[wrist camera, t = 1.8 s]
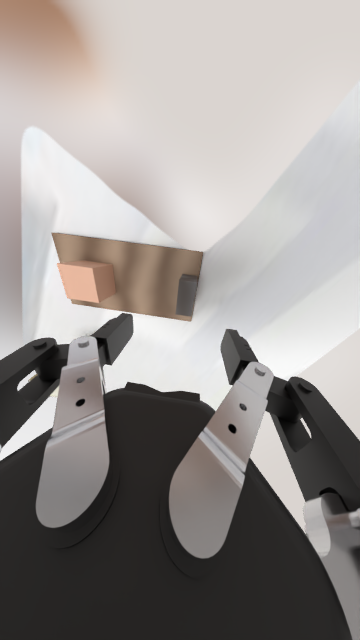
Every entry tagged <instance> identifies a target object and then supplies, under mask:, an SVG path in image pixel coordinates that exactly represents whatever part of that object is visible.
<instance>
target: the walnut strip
mask: <svg viewBox="0 0 360 640" xmlns="http://www.w3.org/2000/svg"><path fill="white" fill-rule="evenodd" d="M52 236H53V240H54V243H55V247H56V250H57V254H58V257H59V260H60V263H65V262H74V261H92V262H99V263H106V264H113V272H114V280H115V288H116V294H114V295H112V296H110V297H109V298H107V299H105V300H103V301H101V302H100V303H96V302H89V301H82V300H76V299H71V301H72V304H78V305H85V306H92V307H98V308H105V309H111V310H118V311H125V312H131V313H138V314H145V315H151V316H158V317H165V318H171V319H178V320H184V321H191V319H192V314H193V308H194V302H195V296H196V291H197V285H198V279H199V273H200V268H201V262H202V256H203V252H199V251H191V250H183V249H176V248H168V247H160V246H152V245H144V244H137V243H129V242H121V241H113V240H106V239H98V238H90V237H82V236H74V235H67V234H59V233H52Z"/></svg>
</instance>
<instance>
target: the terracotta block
mask: <svg viewBox="0 0 360 640" xmlns="http://www.w3.org/2000/svg"><path fill="white" fill-rule="evenodd" d="M57 265H58V269H59V272H60V275H61V279H62V282H63V285H64V289H65V292H66V295H67V298H69V299H76V300H82V301H89V302H96V303H100V302H101V301H103V300H105V299H107V298H109V297H110V296H112V295H114V294H116V288H115V280H114V272H113V264H106V263H99V262H92V261H74V262H65V263H57Z"/></svg>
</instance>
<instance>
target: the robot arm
mask: <svg viewBox="0 0 360 640" xmlns="http://www.w3.org/2000/svg"><path fill="white" fill-rule="evenodd" d="M132 335H133V317H132V315H131V314H125V313H122V314H121V315H119V316H118V317H117V318H114V319H111V320H109V321H108V322H107V323H106V324H104V325H103V326H102V327H101V328H100V329H98V330H97V331H96V332H95V333H94V334H92V335H91V336H84V337H80V338H77V339H75V340H74V341H72V342H71V343H70V344H61V345H57V342H56V340H55V339H53V338H41V339H37V340H34V341H32V342H30V343H28V344H26V345H25V346H23V347H21V348H20V349H18V350H16V351H15V352H13V353H12V354H10V355H8V356H7V357H5V358H3V359H2V360H0V452H1V448H2V447H3V446H4V445H5V444H6V443H7V442H8V441H9V440H10V439H11V437H12V436H13V435H14V434H15V433H16V432H17V431H18V430H19V429H20V428H21V427H22V425H23V424H24V423H25V422H26V421H27V420H28V419H29V418H30V417H31V415H32V414H33V413H34V412H35V411H36V410H37V409H38V408H39V407H40V406H41V405H42V404H43V402H44V401H45V400H46V399H47V398H48V397H49V396H50V395H51V394H52V393H53V392H54V391H55V389H56V388H57V387H58V386H59V391H58V398H57V404H56V411H55V417H54V425H53V427H52V428H51V429H49V430H48V431H46V432H45V433H43V434H42V435H40V436H39V437H37V438H35V439H34V440H32V441H31V442H30V443H28V444H26V445H25V446H23V447H21V448H20V449H18V450H17V451H15V452H14V453H12V454H10V455H9V456H7V457H6V458H4V459H3V460H1V461H0V640H360V441H359V439H357V437H356V436H355V435H354V433H353V432H352V431H351V430H350V428H349V427H348V426H347V425H346V424H345V422H344V421H343V420H342V419H341V417H340V416H339V415H338V414H337V413H336V411H335V410H334V409H333V408H332V406H331V405H330V404H329V403H328V401H327V400H326V399H325V398H324V397H323V395H322V394H321V393H320V392H319V390H318V389H317V388H316V387H315V386H314V385H312V384H311V383H309V382H308V381H306V380H304V379H302V378H299V377H291V378H290V379H289V381H286V380H283V379H280V378H278V377H275V376H274V375H273V373H272V371H271V370H270V369H269V368H268V367H266V366H265V365H263V364H261V363H259V362H258V360H257V358H256V356H255V355H254V353H253V351H252V349H251V348H250V347H249V344H248V342H247V341H246V340H245V339H244V338H243V337H240V336H239V334H238V332H237V330H232V329H226V331H225V334H224V337H223V340H222V343H221V353H222V357H223V361H224V365H225V369H226V373H227V377H228V381H229V385H233V386H232V388H231V389H230V391H229V393H228V394H227V396H226V397H225V399H224V400H223V402H222V403H221V405H220V406H219V408H218V409H217V411H215V410H214V409H213V408H211V407H210V406H209V405H208V404H206V403H204V402H203V401H200V394H197V393H191V392H185V391H175V392H160V391H158V390H155V389H153V388H151V387H149V386H146V385H143V384H137V383H131V382H127V384H126V386H125V388H120V389H116V390H113V391H110V392H108V393H107V392H106V385H105V379H104V372H103V366H104V365H105V364H107V365H112V364H113V362H114V361H115V359H116V358H117V357H118V355H119V354H120V352H121V351H122V350H123V348H124V347H125V345H126V344H127V343H128V341H129V340H130V339H131V337H132ZM33 370H35V371H36V373H37V376H35V377H34V378H33V379H32V380H31V381H30V382H28V383H27V384H26V385H25V386H24V387H23V388H22V389H20V390H19V391H17V386H18V384H19V382H20V381H21V380H22V379H23V378H25V377H26V376H27V375H28V374H30V373H31V372H32V371H33ZM265 411H267V412H269V413H270V415H271V417H272V419H273V422H274V425H275V427H276V430H277V432H278V434H279V437H280V440H281V442H282V444H283V447H284V449H285V451H286V454H287V457H288V459H289V462H290V464H291V467H292V469H293V472H294V474H295V476H296V479H297V481H298V484H299V487H300V489H301V491H302V494H303V497H304V499H305V502H306V503H305V504H304V508H303V514H304V520H305V523H306V524H305V532H306V534H305V533H304V531H303V530H302V529H301V527H300V526H299V524H298V523H297V522H296V520H295V519H294V518H293V516H292V515H291V513H290V512H289V511H288V509H287V508H286V507H285V505H284V504H283V503H282V501H281V500H280V498H279V497H278V496H277V494H276V493H275V492H274V490H273V489H272V488H271V486H270V485H269V483H268V482H267V480H266V479H265V478H264V477H263V475H262V474H261V472H260V471H259V470H258V468H257V467H256V466H255V464H254V463H253V461H252V460H251V459H250V454H251V451H252V448H253V444H254V442H255V439H256V436H257V433H258V430H259V427H260V424H261V421H262V418H263V415H264V412H265ZM301 418H303V419H304V421H305V423H306V424H307V426H308V428H309V429H310V432H311V438H310V436H309V434H308V433H307V431H306V429H305V427H304V425H303V424H302V422H301V420H300V419H301ZM306 535H307V536H306Z"/></svg>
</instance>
